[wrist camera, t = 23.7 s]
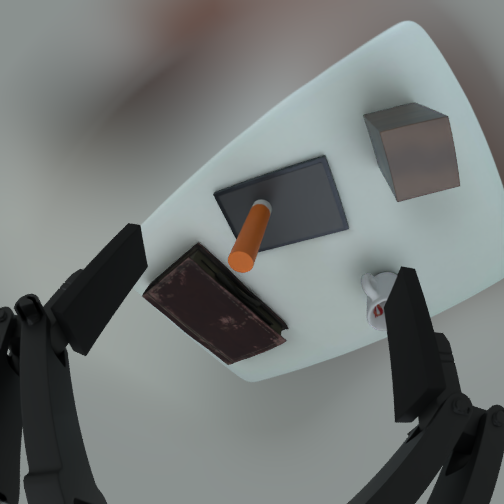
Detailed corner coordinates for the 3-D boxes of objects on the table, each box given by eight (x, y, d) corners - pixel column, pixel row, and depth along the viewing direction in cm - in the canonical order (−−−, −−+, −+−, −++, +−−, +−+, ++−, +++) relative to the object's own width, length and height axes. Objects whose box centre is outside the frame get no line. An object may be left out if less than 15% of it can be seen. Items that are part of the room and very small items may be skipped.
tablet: (214, 191, 47) (212, 194, 46) (325, 154, 40) (325, 157, 39) (246, 252, 52) (244, 256, 52) (348, 226, 46) (349, 229, 45)
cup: (344, 275, 51) (345, 307, 44) (378, 247, 46) (385, 278, 40) (380, 306, 53) (385, 338, 47) (413, 283, 49) (422, 314, 42)
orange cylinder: (249, 202, 46) (223, 255, 34) (267, 196, 45) (246, 248, 33) (257, 219, 47) (234, 275, 36) (274, 213, 46) (257, 269, 35)
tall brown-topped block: (362, 115, 36) (379, 132, 26) (414, 102, 33) (448, 116, 23) (378, 167, 39) (397, 202, 30) (428, 155, 36) (460, 186, 27)
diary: (231, 350, 70) (225, 367, 66) (149, 283, 62) (139, 298, 58) (292, 323, 60) (289, 342, 56) (201, 238, 53) (191, 255, 49)
